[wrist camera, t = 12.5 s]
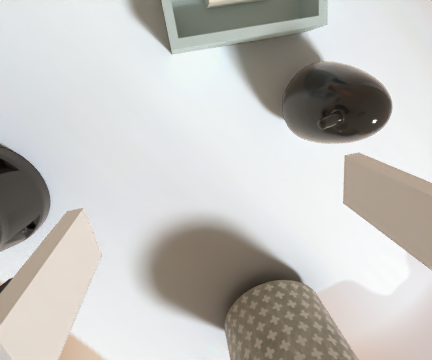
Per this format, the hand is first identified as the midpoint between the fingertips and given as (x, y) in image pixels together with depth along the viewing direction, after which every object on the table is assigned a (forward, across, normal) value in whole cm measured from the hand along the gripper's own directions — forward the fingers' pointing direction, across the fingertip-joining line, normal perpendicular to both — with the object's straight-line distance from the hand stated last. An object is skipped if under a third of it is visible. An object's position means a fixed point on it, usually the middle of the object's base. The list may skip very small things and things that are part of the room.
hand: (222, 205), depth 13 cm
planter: (+27, +8, -39) cm, 48 cm away
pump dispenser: (+27, +17, 0) cm, 32 cm away
